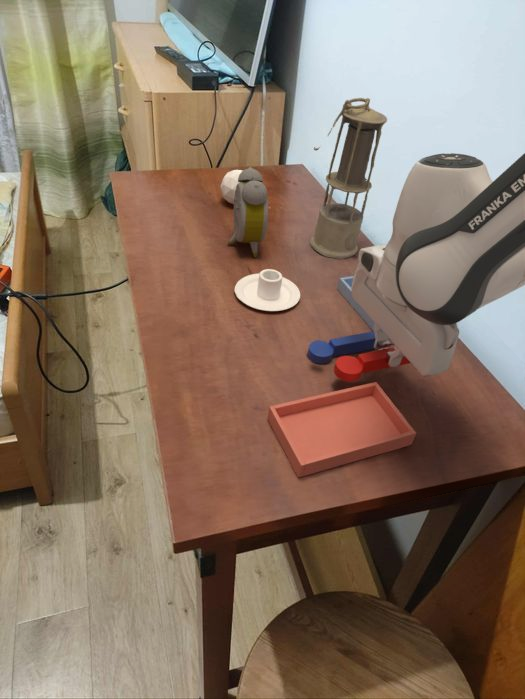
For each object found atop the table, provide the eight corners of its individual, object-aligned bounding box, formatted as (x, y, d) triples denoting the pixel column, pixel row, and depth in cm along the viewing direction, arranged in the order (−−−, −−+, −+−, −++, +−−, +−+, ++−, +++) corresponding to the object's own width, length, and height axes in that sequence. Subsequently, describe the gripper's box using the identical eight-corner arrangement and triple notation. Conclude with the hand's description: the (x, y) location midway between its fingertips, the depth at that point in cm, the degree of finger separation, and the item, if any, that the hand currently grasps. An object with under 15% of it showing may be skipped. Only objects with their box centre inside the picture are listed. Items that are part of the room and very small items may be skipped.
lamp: (362, 259, 107) (402, 108, 88) (301, 257, 105) (329, 102, 86) (351, 235, 115) (386, 91, 95) (294, 232, 113) (318, 85, 93)
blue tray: (433, 335, 89) (438, 324, 88) (385, 345, 86) (389, 333, 84) (381, 282, 101) (384, 271, 99) (336, 289, 97) (339, 277, 96)
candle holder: (223, 300, 91) (224, 280, 88) (251, 270, 99) (253, 250, 96) (285, 322, 88) (288, 301, 85) (308, 289, 96) (312, 269, 94)
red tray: (372, 393, 76) (376, 381, 75) (411, 445, 70) (416, 433, 68) (267, 418, 70) (269, 406, 69) (298, 477, 64) (301, 465, 62)
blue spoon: (370, 337, 87) (373, 326, 85) (382, 352, 84) (386, 341, 83) (303, 350, 82) (305, 338, 81) (314, 366, 80) (316, 354, 78)
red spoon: (400, 351, 80) (404, 339, 79) (415, 367, 77) (419, 356, 76) (329, 366, 76) (332, 354, 74) (341, 384, 73) (345, 372, 72)
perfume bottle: (216, 195, 115) (209, 180, 124) (243, 216, 119) (235, 200, 128) (237, 167, 112) (229, 154, 122) (265, 190, 116) (255, 175, 126)
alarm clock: (263, 260, 103) (272, 188, 93) (230, 259, 101) (235, 187, 92) (255, 232, 111) (262, 163, 102) (224, 231, 110) (228, 162, 100)
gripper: (482, 320, 61) (445, 400, 70) (390, 239, 75) (369, 314, 84) (440, 328, 59) (408, 410, 68) (353, 243, 73) (335, 320, 82)
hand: (385, 356), depth 76 cm, fingers closed on red spoon, 2 cm apart
